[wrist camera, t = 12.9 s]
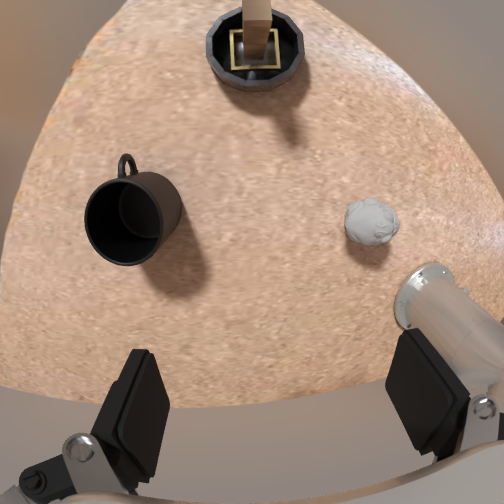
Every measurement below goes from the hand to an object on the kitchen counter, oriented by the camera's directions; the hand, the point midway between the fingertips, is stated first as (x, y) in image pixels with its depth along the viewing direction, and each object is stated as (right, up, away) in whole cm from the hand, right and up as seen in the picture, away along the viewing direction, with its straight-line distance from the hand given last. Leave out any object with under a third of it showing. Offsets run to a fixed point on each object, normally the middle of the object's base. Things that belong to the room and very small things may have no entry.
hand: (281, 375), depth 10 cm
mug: (-15, +12, +26) cm, 32 cm away
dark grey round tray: (-1, +29, +20) cm, 35 cm away
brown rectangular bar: (-1, +29, +19) cm, 35 cm away
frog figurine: (+13, +9, +27) cm, 32 cm away
